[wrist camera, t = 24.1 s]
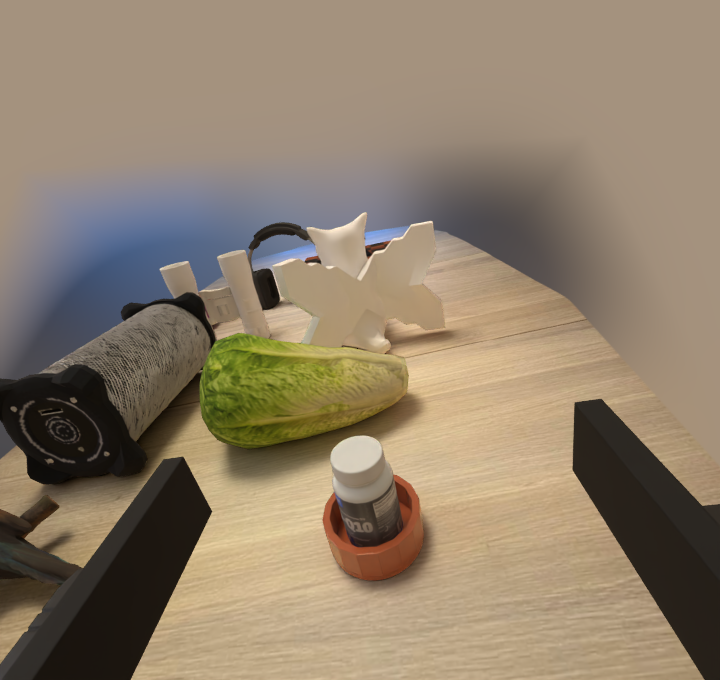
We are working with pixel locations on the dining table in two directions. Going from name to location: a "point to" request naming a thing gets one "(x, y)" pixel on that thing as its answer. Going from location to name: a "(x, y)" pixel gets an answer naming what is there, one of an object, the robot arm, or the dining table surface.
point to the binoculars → (224, 292)
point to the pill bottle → (365, 492)
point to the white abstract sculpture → (362, 286)
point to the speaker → (107, 392)
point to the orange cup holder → (387, 555)
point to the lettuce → (292, 389)
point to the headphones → (265, 277)
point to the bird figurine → (30, 547)
